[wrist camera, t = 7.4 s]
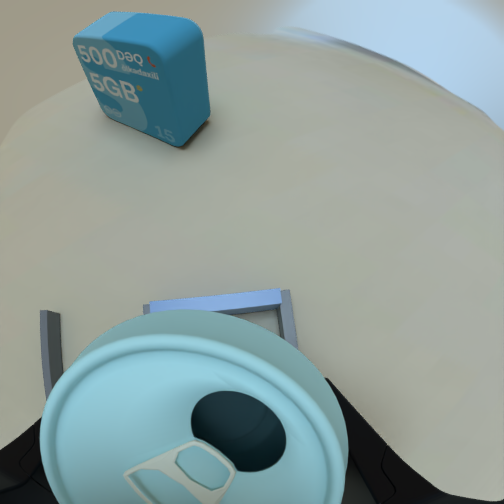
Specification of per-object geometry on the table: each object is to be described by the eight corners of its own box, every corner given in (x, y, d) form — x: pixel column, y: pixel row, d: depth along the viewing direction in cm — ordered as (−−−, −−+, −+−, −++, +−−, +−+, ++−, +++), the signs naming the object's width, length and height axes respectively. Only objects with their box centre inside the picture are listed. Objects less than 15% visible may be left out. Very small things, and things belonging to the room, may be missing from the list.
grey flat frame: (306, 461, 18) (315, 475, 15) (72, 462, 17) (54, 471, 14) (285, 294, 22) (291, 286, 20) (52, 314, 21) (33, 308, 18)
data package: (104, 116, 28) (67, 35, 17) (130, 91, 29) (104, 10, 18) (185, 152, 26) (161, 47, 15) (212, 122, 28) (203, 19, 16)
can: (163, 327, 16) (27, 270, 5) (288, 340, 16) (396, 310, 5) (154, 443, 14) (37, 547, 2) (277, 457, 14) (340, 598, 2)
